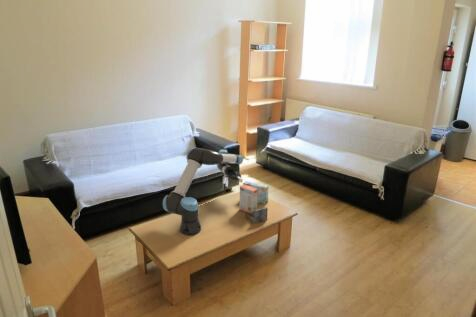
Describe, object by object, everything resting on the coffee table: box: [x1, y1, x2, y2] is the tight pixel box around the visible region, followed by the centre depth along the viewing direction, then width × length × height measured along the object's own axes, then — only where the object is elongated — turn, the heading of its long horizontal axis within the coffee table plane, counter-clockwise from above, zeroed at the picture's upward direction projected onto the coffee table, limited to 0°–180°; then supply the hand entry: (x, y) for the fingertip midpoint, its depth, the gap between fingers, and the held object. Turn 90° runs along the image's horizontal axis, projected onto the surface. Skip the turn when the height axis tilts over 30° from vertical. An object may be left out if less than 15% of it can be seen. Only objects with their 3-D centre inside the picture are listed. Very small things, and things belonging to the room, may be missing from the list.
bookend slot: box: [244, 206, 269, 224], centre depth 262 cm, size 12×13×10 cm
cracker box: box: [239, 184, 258, 216], centre depth 270 cm, size 14×6×21 cm, turn 45°
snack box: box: [242, 180, 270, 205], centre depth 289 cm, size 21×6×15 cm, turn 63°
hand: (241, 180), depth 277 cm, fingers closed
